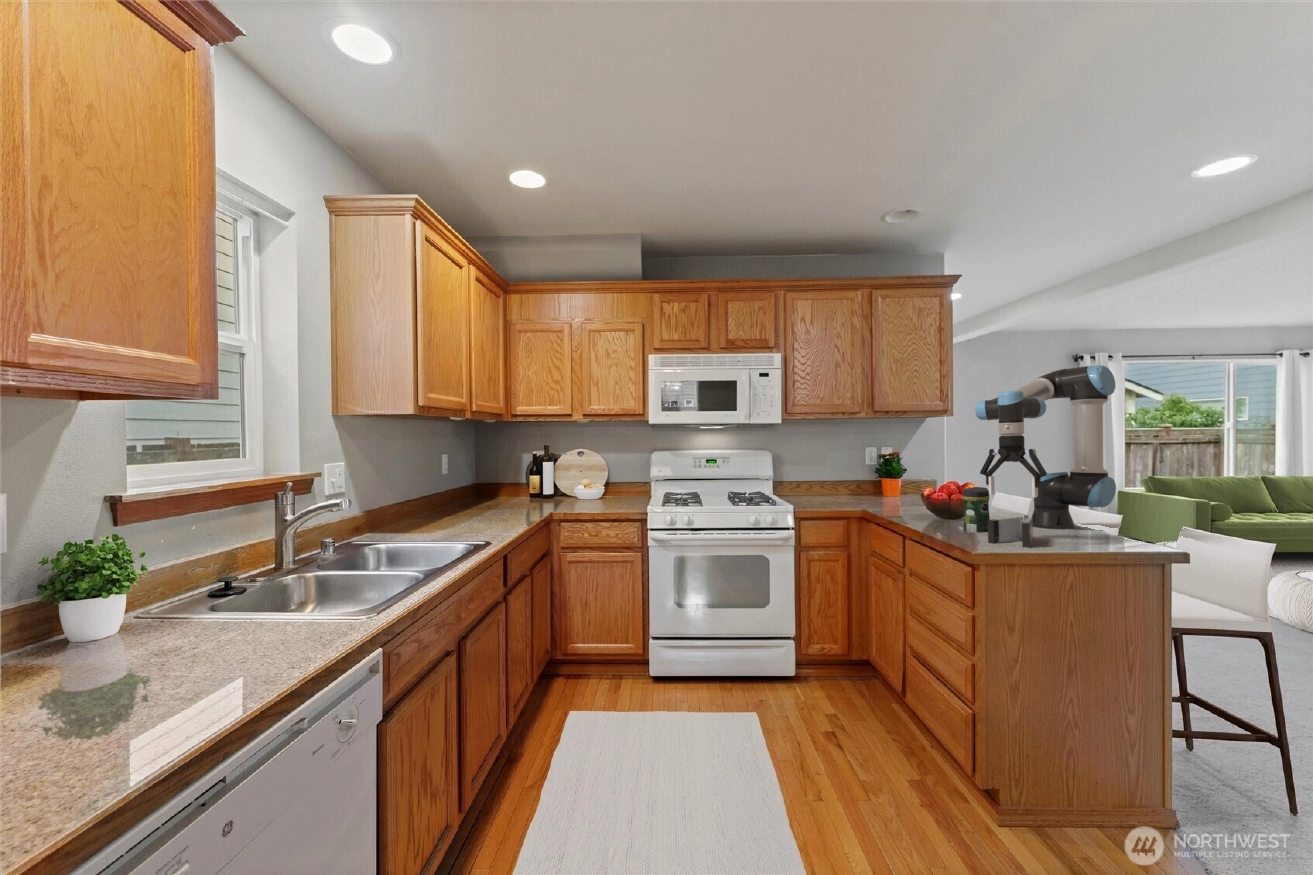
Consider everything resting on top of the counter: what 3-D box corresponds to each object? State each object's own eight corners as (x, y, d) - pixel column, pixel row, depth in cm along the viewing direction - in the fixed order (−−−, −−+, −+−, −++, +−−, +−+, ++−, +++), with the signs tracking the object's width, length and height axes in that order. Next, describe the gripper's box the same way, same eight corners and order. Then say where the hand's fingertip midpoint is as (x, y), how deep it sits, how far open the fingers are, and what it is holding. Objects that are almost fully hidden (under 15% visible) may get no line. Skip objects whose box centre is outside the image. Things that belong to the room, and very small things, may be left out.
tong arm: (1018, 538, 204) (1017, 516, 204) (1023, 539, 202) (1023, 517, 202) (988, 542, 197) (987, 520, 197) (993, 543, 196) (992, 520, 196)
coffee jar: (975, 531, 228) (974, 485, 228) (994, 534, 220) (993, 487, 221) (959, 533, 224) (958, 487, 224) (978, 536, 216) (976, 488, 216)
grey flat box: (1025, 540, 203) (1024, 515, 203) (1034, 540, 201) (1034, 515, 201) (1019, 548, 189) (1018, 521, 189) (1029, 549, 187) (1028, 522, 187)
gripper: (969, 436, 203) (970, 494, 203) (1048, 434, 183) (1050, 499, 183) (978, 435, 208) (979, 492, 208) (1057, 434, 188) (1058, 497, 188)
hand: (1012, 495), depth 195 cm, fingers open, 13 cm apart
